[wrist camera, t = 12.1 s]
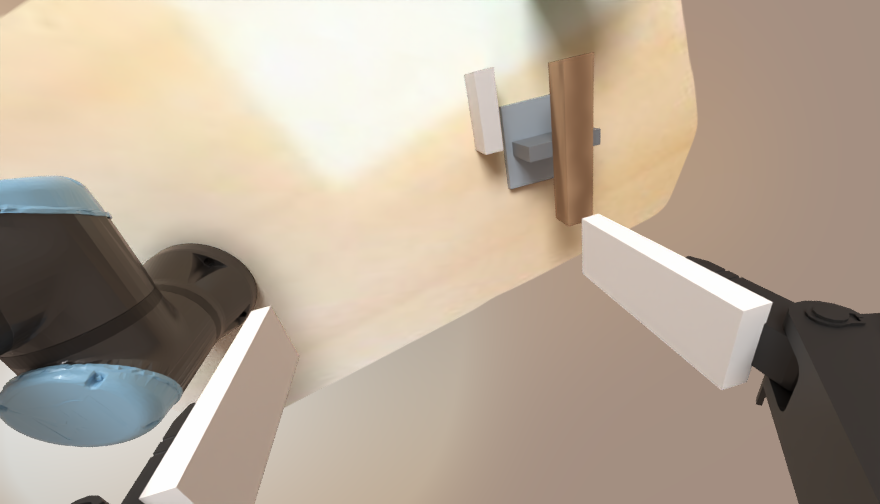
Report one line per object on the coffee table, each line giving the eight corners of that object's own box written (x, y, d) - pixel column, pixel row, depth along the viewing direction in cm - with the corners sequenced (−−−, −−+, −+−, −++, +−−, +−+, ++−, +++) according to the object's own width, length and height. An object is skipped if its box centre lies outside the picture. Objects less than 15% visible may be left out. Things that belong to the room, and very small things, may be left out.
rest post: (475, 149, 47) (485, 154, 43) (464, 74, 43) (473, 71, 39) (491, 145, 48) (503, 150, 43) (481, 70, 43) (493, 67, 39)
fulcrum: (508, 187, 51) (526, 199, 45) (498, 107, 45) (517, 108, 39) (578, 168, 52) (606, 178, 45) (577, 87, 46) (608, 85, 40)
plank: (555, 217, 47) (568, 226, 44) (548, 62, 38) (563, 59, 35) (578, 211, 47) (592, 219, 44) (576, 56, 38) (593, 52, 35)
